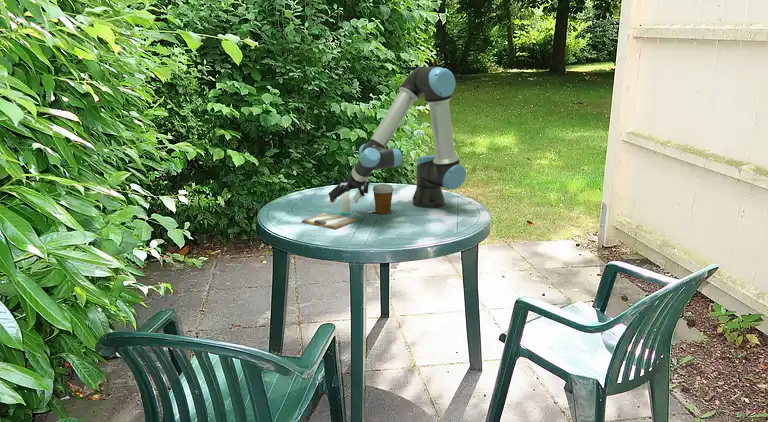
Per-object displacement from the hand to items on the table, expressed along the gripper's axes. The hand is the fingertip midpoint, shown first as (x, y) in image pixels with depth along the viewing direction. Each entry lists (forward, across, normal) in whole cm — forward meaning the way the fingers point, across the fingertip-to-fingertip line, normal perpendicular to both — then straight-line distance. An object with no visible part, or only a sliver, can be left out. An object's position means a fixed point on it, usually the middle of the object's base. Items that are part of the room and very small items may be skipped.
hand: (342, 202), depth 278 cm
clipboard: (-3, -11, -10) cm, 15 cm away
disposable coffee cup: (-2, +16, -10) cm, 19 cm away
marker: (+1, 0, -5) cm, 5 cm away
